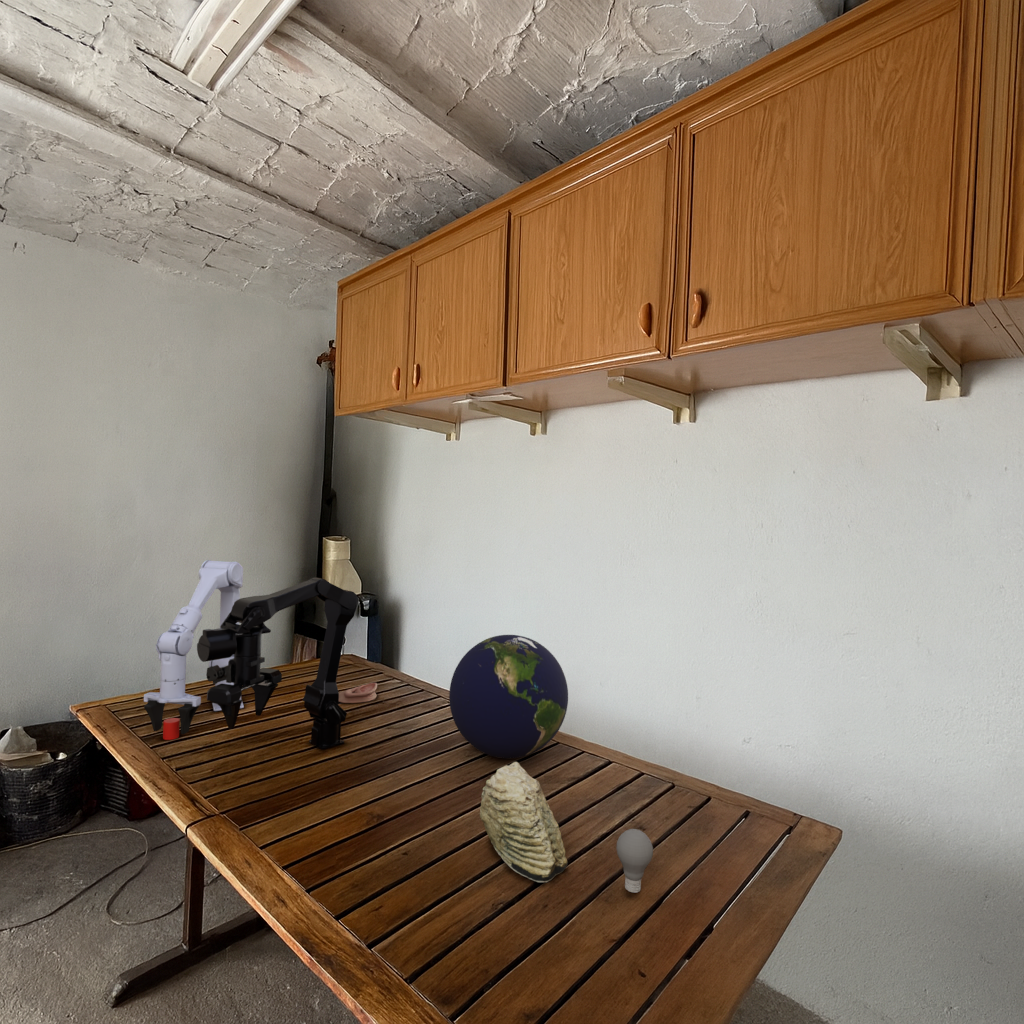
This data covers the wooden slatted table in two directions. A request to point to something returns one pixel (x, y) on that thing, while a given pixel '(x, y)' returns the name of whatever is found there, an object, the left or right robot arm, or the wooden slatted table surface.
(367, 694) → the anatomical model
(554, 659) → the globe
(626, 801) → the wooden slatted table surface
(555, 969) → the wooden slatted table surface
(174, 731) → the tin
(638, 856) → the light bulb
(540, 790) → the fossil
